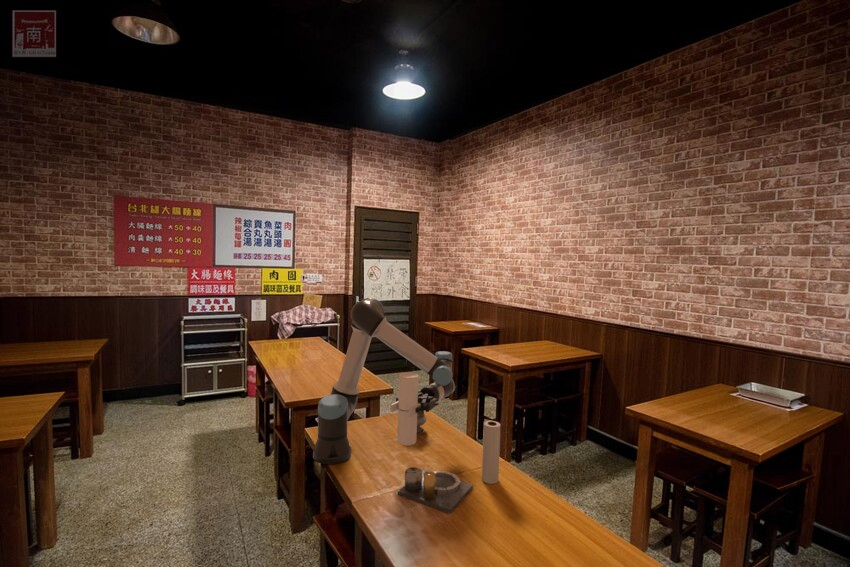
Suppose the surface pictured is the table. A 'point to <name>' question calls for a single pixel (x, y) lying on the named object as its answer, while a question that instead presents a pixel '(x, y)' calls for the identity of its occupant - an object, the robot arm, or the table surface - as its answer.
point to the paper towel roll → (491, 451)
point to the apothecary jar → (420, 420)
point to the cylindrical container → (407, 408)
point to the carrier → (434, 488)
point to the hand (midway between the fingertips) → (400, 410)
